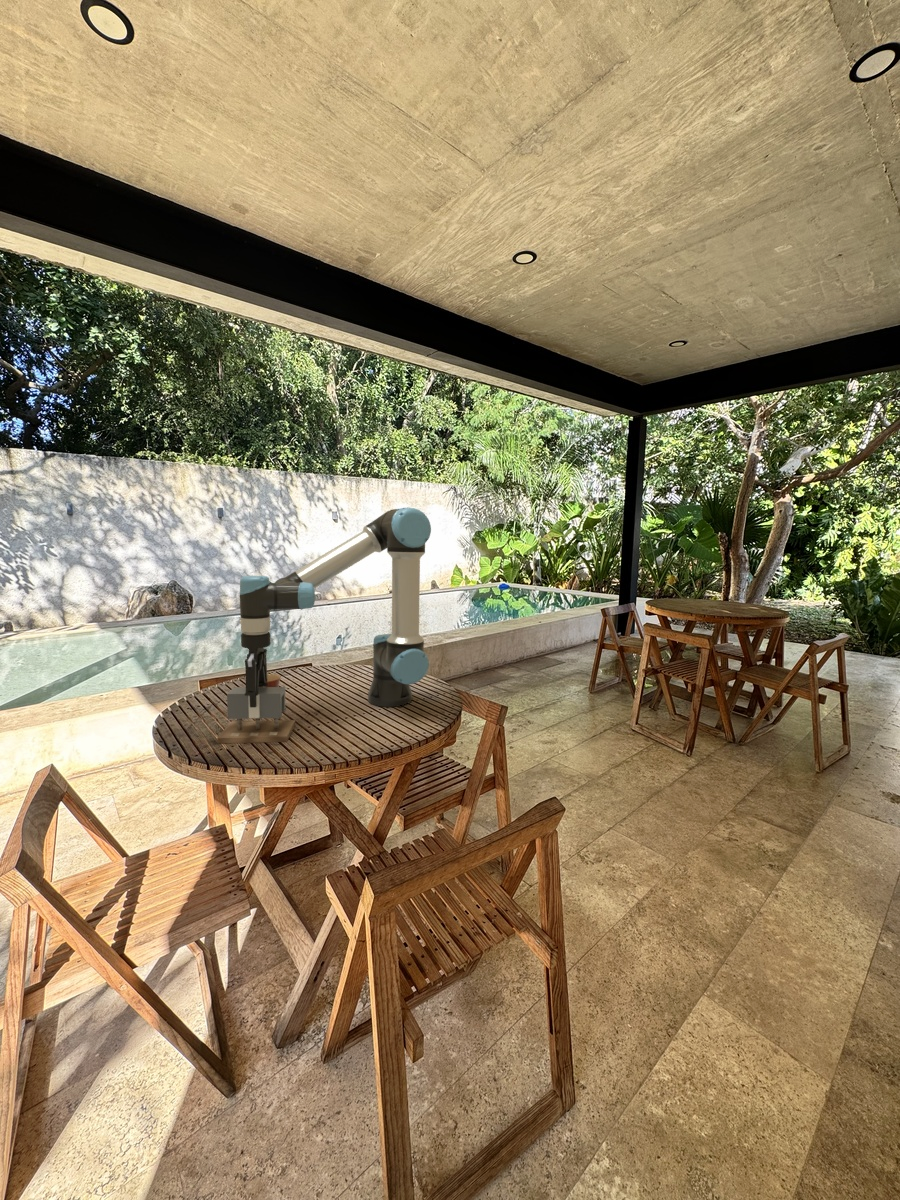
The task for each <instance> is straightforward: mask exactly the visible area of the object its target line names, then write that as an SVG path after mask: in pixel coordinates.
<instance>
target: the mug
mask: <svg viewBox="0 0 900 1200" xmlns="http://www.w3.org/2000/svg"><path fill="white" fill-rule="evenodd" d="M267 679H268V680H267V682H266V683H269V685H268V686H264V687H280V681H281V675H279V674H273V673H267Z"/></svg>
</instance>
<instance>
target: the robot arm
mask: <svg viewBox="0 0 900 1200" xmlns="http://www.w3.org/2000/svg"><path fill="white" fill-rule="evenodd" d="M431 532H432V527H431V522H430V520H429V518H428V517H427V515H426V514H425V513H424V512H423V511H421V510H420V509H418V508H414V507H409V506H408V507H401V508H395V509H390V510H387V511H386V512H384V513H383V514H382V515H380V516H378V517H377V518H375V519H374V520H372V521H371V522H370V523H368V524H367V525H365V526H363V528H362V531H361V532H360V533H358V534H356V535H354V536H352V537H351V538H349V539H347V540H346V541H344V542H343V543H340V544H339V545H337V546H335V547H334V548H331V550H328V551H327V552H325V553H324V554H322V555H320V556H318V557H317V558H315V559H314V560H311V562H308V563H306V564H305V565H304V566H302V567H300V568H299V569H297V570H295V571H294V572H291V573H290V574H288V575H287V576H284V577H281V578H278V579H277V580H275V581H274V582H270V578H269V577H268V576H267V575H246V576H245V575H244V576H242V577H241V578H240V580H239V611H240V619H239V620H238V624H240V631H241V634H240V645H241V648H244V649H248V652H247V654H246V658H245V659H244V667H245V687H246V693H245V696H248V703H249V718H252V719H256V718H260V700H259V694H258V687H264V686H268V685H269V683H266V682H267V680H268V679H267V674H268V665H267V663H268V661H267V652H268V650H267V647H269V646H271V632H269V631H271V615H270V614H271V613H270V612H271V611H279V610H280V611H283V610H285V611H286V610H304V609H305V610H308V609H313V607H314V605H315V602H316V601H315V600H316V592H315V589H316V588H318V587H320V586H321V585H322V584H324V583H326V582H328V581H329V580H331V579H332V578H334V577H336V576H337V575H339V574H341V573H342V572H344V571H345V570H347V569H349V568H350V567H352V566H354V565H355V564H357V563H358V562H360V561H362V560H363V559H365V558H367V557H369V556H370V555H372V554H374V553H381V552H383V551H384V550H386V552H387V554H388V555H389V556H390V557H391V559H392V561H391V633H386V634H385V633H384V634H383V633H382V634H378V635H375V636H374V637H373V643H372V647H373V648H372V649H373V654H372V657H373V658H372V659H373V661H372V669H373V671H372V672H373V673H372V675H373V676H372V677H373V678H372V681H371V684H370V688H369V690H368V694H367V701H368V703H370V704H371V705H374V706H378V707H382V708H383V707H384V708H393V707H395V706H396V707H401V706H400V705H402V706H405V705H407V704H406V703H408V702H410V701H411V700H413V692H412V688H411V685H413V684H416V683H418V682H420V681H421V680H422V679H423V678H424V677H425V676H426V675H427V672H428V670H429V667H430V662H429V661H430V660H429V658H428V656H427V654H426V653H425V652H424V650H425V647H424V646H425V643H424V642H425V641H424V640H425V639H424V638H423V637H422V636H421V635H420V595H421V594H420V592H421V591H420V589H421V588H420V585H421V584H420V583H421V581H420V579H421V577H420V575H421V573H420V572H421V558H422V557H423V556H424V555H425V554H426V543H427V542H428V540H429V539H430V536H431ZM411 702H412V701H411ZM411 702H410V703H411ZM404 704H405V705H404ZM408 704H409V703H408ZM396 707H395V708H396ZM260 719H261V718H260Z"/></svg>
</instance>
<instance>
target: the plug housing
mask: <svg viewBox="0 0 900 1200" xmlns="http://www.w3.org/2000/svg"><path fill="white" fill-rule="evenodd" d="M245 693H246V686H237V687H236V686H234V687H233V688H232V689H230V691H228V692H227V693H226V702H227V703H226V704H227V709H226V710H227V719H228V720H237V719H243V720H244V719H245V720H246V719H248V720H249V719H253V718H249V703H248V696H245ZM258 694H259V700H260V719H274V718H279V719H282V717H283V714H282V713H285V712H286V687H285V686H279V687H258Z"/></svg>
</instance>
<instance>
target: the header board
mask: <svg viewBox="0 0 900 1200" xmlns="http://www.w3.org/2000/svg"><path fill="white" fill-rule="evenodd" d="M295 726H296V720H295V719H289V720H288V719H284V720H283V719H282V720H281V719H280V718H273V720H261V718H255V720H244V721H243V720H242V719H236V721H235V720H233V721H230V722H229V723H228V724H227V726H226V727H225V728H224V730H223V731H221V733H220V734H219V736H217V738H216V741H217V744H219V745H220V744H249V743H251V744H253V743H255V744H256V743H285V742H288V740H289V738H290V737H291V734H292V732H293V731H294V728H295Z"/></svg>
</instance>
